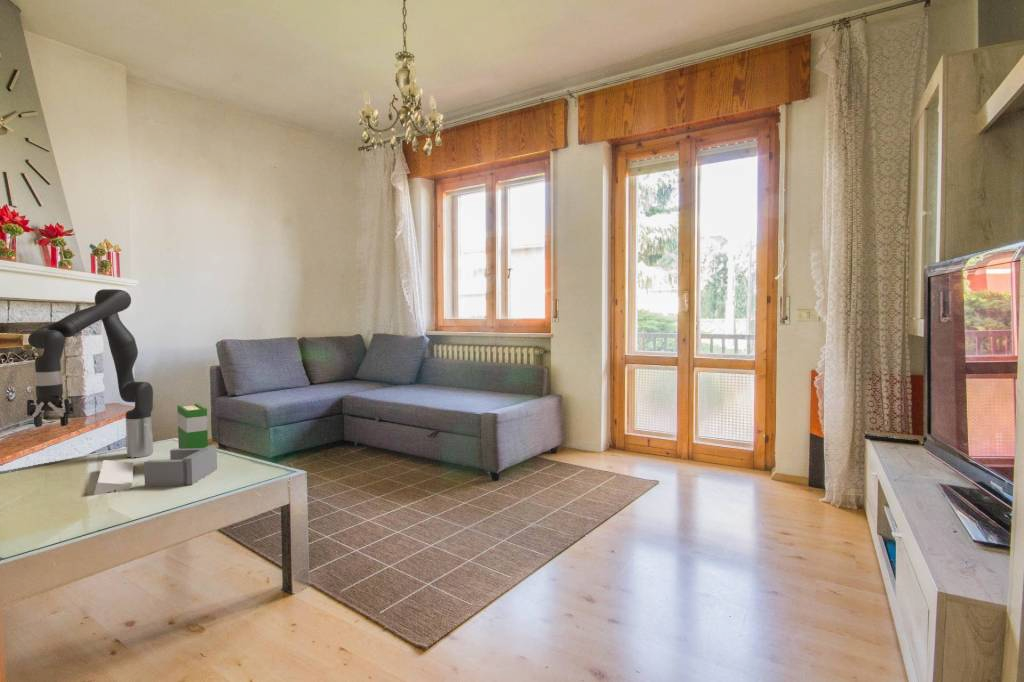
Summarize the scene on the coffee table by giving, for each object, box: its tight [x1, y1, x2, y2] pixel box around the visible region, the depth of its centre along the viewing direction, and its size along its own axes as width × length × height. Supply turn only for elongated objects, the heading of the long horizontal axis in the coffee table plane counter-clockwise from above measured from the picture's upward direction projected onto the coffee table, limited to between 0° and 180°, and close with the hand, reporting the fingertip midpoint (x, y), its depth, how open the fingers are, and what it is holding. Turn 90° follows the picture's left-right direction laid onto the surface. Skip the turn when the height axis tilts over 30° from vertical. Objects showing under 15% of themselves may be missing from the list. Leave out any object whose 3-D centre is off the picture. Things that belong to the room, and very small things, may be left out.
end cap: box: [143, 444, 218, 487], centre depth 195 cm, size 19×16×10 cm
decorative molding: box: [93, 459, 134, 496], centre depth 193 cm, size 34×5×10 cm
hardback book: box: [176, 403, 209, 449], centre depth 215 cm, size 18×7×24 cm, turn 43°
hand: (51, 426), depth 188 cm, fingers open, 8 cm apart
